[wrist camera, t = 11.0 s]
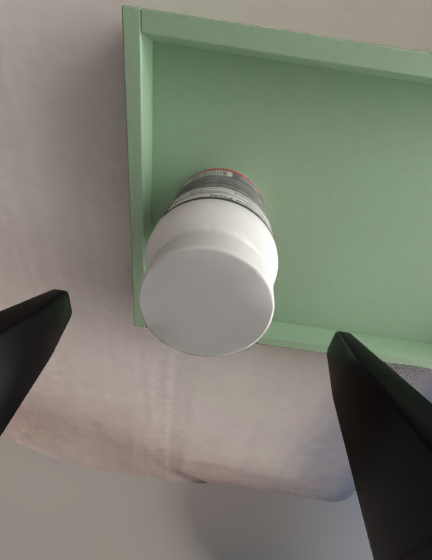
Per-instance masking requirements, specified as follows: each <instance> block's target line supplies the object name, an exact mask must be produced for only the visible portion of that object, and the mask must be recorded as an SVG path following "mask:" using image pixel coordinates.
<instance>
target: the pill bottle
mask: <svg viewBox="0 0 432 560" xmlns="http://www.w3.org/2000/svg"><path fill="white" fill-rule="evenodd" d="M145 266H146V271H145V273H144V275H143V277H142V279H141V282H140V285H139V289H138V306H139V310H140V313H141V315H142V318H143V320H144V322H145V323H146V325H147V327H148V328H149V329H150V330H151V332H152V333H153V334H154V335H155V336H156V337H157V338H159V339H160V340H161V341H162V342H164V343H165V344H167V345H169V346H170V347H172V348H174V349H176V350H178V351H181V352H184V353H187V354H191V355H196V356H204V357H217V356H225V355H230V354H233V353H236V352H239V351H242V350H244V349H246V348H248V347H249V346H251V345H252V344H254V343H255V342H256V341H258V340H259V339H260V338H261V337H262V335H263V334H264V333H265V332H266V330H267V329H268V327H269V325H270V323H271V321H272V317H273V313H274V294H273V285H274V282H275V279H276V276H277V270H278V255H277V248H276V244H275V240H274V236H273V233H272V229H271V226H270V222H269V219H268V215H267V212H266V208H265V204H264V200H263V198H262V196H261V194H260V192H259V190H258V189H257V187H256V186H255V185H254V183H253V182H252V181H251V180H250V179H248V178H247V177H246V176H244V175H243V174H241V173H239V172H237V171H234V170H231V169H226V168H211V169H206V170H203V171H201V172H198V173H197V174H195V175H193V176H192V177H191V178H189V179H188V180H187V181H186V182H185V183H184V184H183V186H182V187H181V189H180V190H179V191H178V193H177V194H176V196H175V198H174V199H173V200H172V202H171V204H170V205H169V207H168V208H167V210H166V211H165V213H164V214H163V216H162V217H161V219H160V220H159V222H158V223H157V225H156V226H155V228H154V229H153V231H152V233H151V235H150V238H149V240H148V243H147V247H146V253H145Z"/></svg>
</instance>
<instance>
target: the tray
mask: <svg viewBox="0 0 432 560" xmlns="http://www.w3.org/2000/svg"><path fill="white" fill-rule="evenodd" d="M122 25H123V50H124V75H125V100H126V125H127V150H128V175H129V200H130V225H131V250H132V275H133V300H134V325H135V326H140V327H147V325H146V323H145V322H144V320H143V318H142V315H141V313H140V310H139V306H138V289H139V285H140V282H141V279H142V277H143V275H144V273H145V271H146V266H145V253H146V247H147V243H148V240H149V238H150V235H151V233H152V231H153V229H154V228H155V226H156V225H157V223H158V222H159V220H160V219H161V217H162V216H163V214H164V213H165V211H166V210H167V208H168V207H169V205H170V204H171V202H172V200H173V199H174V198H175V196H176V194H177V193H178V191H179V190H180V189H181V187H182V186H183V184H184V183H185V182H186V181H187V180H188V179H189V178H191V177H192V176H193V175H195V174H197V173H198V172H201V171H203V170H206V169H211V168H226V169H231V170H234V171H237V172H239V173H241V174H243V175H244V176H246V177H247V178H248V179H250V180H251V181H252V182H253V183H254V185H255V186H256V187H257V189H258V190H259V192H260V194H261V196H262V198H263V200H264V204H265V208H266V212H267V215H268V219H269V222H270V226H271V229H272V233H273V236H274V240H275V244H276V248H277V255H278V270H277V276H276V279H275V282H274V285H273V294H274V313H273V317H272V321H271V323H270V325H269V327H268V329H267V330H266V332H265V333H264V334H263V335H262V337H261V338H260V339H259V340H258V341H256V342H255V343H258V344H265V345H272V346H279V347H286V348H293V349H300V350H307V351H313V352H320V353H327V349H328V347H329V345H330V342H331V340H332V338H333V336H334V334H335V333H336V332H337V331H342V332H349V333H351V334H352V335H353V336H354V337H355V338H357V339H358V340H359V341H360V342H361V343H362V344H364V345H365V346H366V347H367V348H368V349H369V350H370V351H372V352H373V353H374V354H375V355H376V356H377V357H379V358H380V359H381V360H382V361H383V362H390V363H397V364H404V365H411V366H418V367H425V368H432V54H431V53H424V52H418V51H411V50H405V49H399V48H392V47H386V46H380V45H373V44H367V43H361V42H354V41H348V40H341V39H335V38H329V37H322V36H316V35H310V34H303V33H297V32H291V31H284V30H278V29H271V28H265V27H259V26H252V25H246V24H240V23H233V22H227V21H221V20H214V19H208V18H202V17H195V16H189V15H182V14H176V13H170V12H163V11H157V10H151V9H144V8H142V9H140V8H137V7H131V6H122ZM147 328H148V327H147Z"/></svg>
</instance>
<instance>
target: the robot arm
mask: <svg viewBox="0 0 432 560" xmlns="http://www.w3.org/2000/svg"><path fill="white" fill-rule="evenodd" d="M71 314H72V309H71V304H70V298H69V294H68V292H67V291H64V290H57V289H53V290H51V291H48V292H46V293H43V294H41V295H39V296H36V297H34V298H31V299H29V300H27V301H24V302H22V303H19V304H17V305H14V306H12V307H10V308H7V309H5V310H2V311H0V436H1V434H2V433H3V431H4V430H5V428H6V426H7V425H8V423H9V422H10V420H11V419H12V417H13V416H14V414H15V412H16V411H17V409H18V408H19V406H20V405H21V403H22V401H23V400H24V398H25V397H26V395H27V394H28V392H29V390H30V389H31V387H32V386H33V384H34V383H35V381H36V380H37V378H38V376H39V375H40V373H41V372H42V370H43V369H44V367H45V365H46V364H47V362H48V361H49V359H50V357H51V356H52V354H53V352H54V350H55V348H56V346H57V344H58V342H59V340H60V338H61V336H62V334H63V332H64V330H65V328H66V326H67V324H68V321H69V319H70V317H71ZM327 359H328V366H329V373H330V381H331V388H332V394H333V400H334V404H335V408H336V412H337V416H338V420H339V424H340V428H341V432H342V436H343V440H344V444H345V448H346V452H347V456H348V460H349V463H350V467H351V471H352V475H353V479H354V483H355V487H356V491H357V495H358V499H359V503H360V507H361V511H362V515H363V519H364V523H365V527H366V531H367V535H368V539H369V542H370V547H371V550H372V554H373V558H374V560H432V403H430V402H429V401H428V400H427V399H426V398H425V397H423V396H422V395H421V394H420V393H419V392H418V391H417V390H415V389H414V388H413V387H412V386H411V385H410V384H408V383H407V382H406V381H405V380H404V379H403V378H402V377H400V376H399V375H398V374H397V373H396V372H395V371H394V370H392V369H391V368H390V367H389V366H388V365H387V364H385V363H384V362H383V361H382V360H381V359H380V358H379V357H377V356H376V355H375V354H374V353H373V352H372V351H370V350H369V349H368V348H367V347H366V346H365V345H364V344H362V343H361V342H360V341H359V340H358V339H357V338H355V337H354V336H353V335H352V334H351V333H349V332H342V331H337V332H336V333H335V334H334V336H333V338H332V340H331V342H330V345H329V347H328V349H327Z"/></svg>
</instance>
